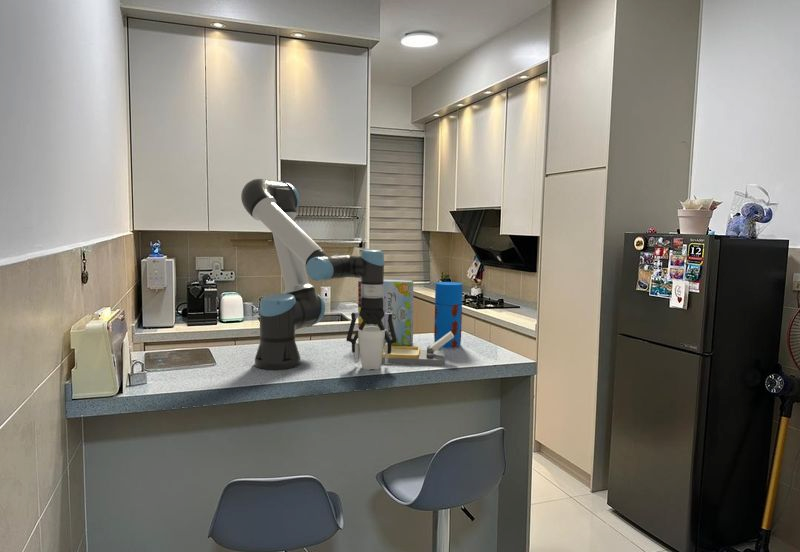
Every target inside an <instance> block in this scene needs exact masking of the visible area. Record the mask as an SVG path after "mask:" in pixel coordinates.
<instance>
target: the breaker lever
mask: <svg viewBox="0 0 800 552" xmlns="http://www.w3.org/2000/svg"><path fill="white" fill-rule="evenodd" d="M452 338H454V335H453V334H452V332H451V331H450V332H449V333H447V334H446V335H445V336H443V337H442V338H441V339H439V340H438V341H436V342H435V343H433V344H431V345H428V346H427V347H426V350H427V354H428V353H431V354H433V352H435V351H436V350H439V349H440V348H441V346H443V345H444V344H446V343H447V342H448V341H450V340H451V339H452Z"/></svg>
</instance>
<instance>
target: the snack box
mask: <svg viewBox="0 0 800 552" xmlns="http://www.w3.org/2000/svg"><path fill="white" fill-rule="evenodd" d="M357 284H358V285H357V286H358V287H357V290H358V292H357V293H358V294H357V295H358V297H357V299H358V301H357V302H358V303H357V304H358V307H357V308H358V309H357V311H358V312H360V310H361V298H362V297H363V296H362V295H361V279H360V280H358V282H357ZM382 297H383V298H384V301H383V310H384V312H385V313H392V314H393V317H392V321H393V325H394V329H395V333H396V338H397V341H396V343H392V344H391V346H411V345H412V343H413V342H414V341H413V340H414V337H413V336H414V280H410V279H408V280H407V279H406V280H405V279H404V280H402V279H384V295H383V296H382ZM357 320H358V323H357V324H358V326H357V327H358V328H359V327H360V325H361V323H362V322H363V319H362V318H361V317H360V315H359V316H358V318H357ZM381 321H382V323H383V325H384V327H385V329H386V331H387V333H388V335H389V337H390V339H392V336H391V332H390V328H389V324H388V320H387V319H386V317H385V316H384V317H383V318H382V320H381ZM364 327H378V325H377V324H376V325H373V324H369V325H368V324H365V326H364ZM358 328H357V329H358ZM357 340H358V341H357V342H358V345H359V339H357ZM386 343H387V342H386V340H385V342H384V345H385V344H386Z"/></svg>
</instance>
